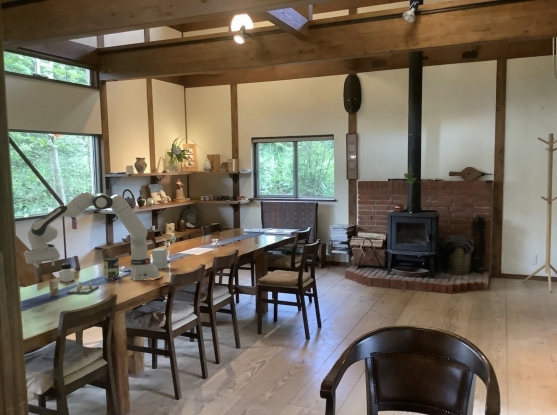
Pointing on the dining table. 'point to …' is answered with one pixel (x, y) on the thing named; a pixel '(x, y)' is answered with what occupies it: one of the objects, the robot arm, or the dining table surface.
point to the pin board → (82, 289)
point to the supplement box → (159, 258)
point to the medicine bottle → (66, 273)
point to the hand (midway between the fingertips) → (45, 266)
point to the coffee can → (111, 267)
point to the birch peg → (53, 287)
